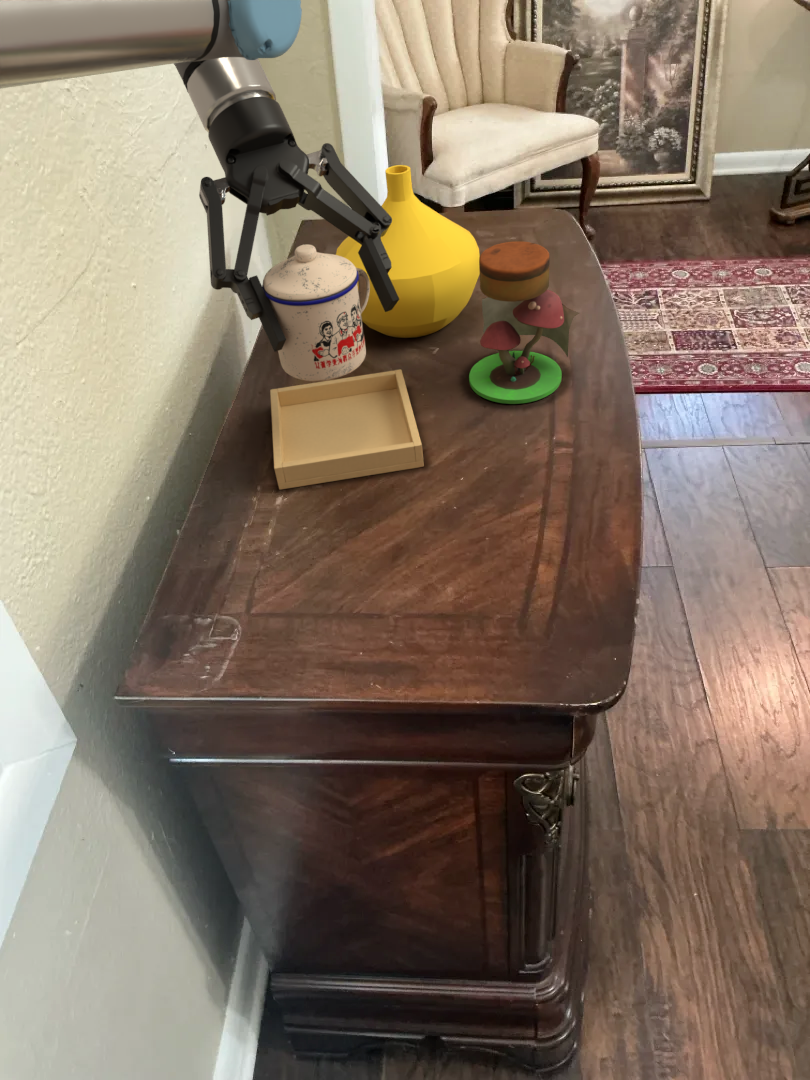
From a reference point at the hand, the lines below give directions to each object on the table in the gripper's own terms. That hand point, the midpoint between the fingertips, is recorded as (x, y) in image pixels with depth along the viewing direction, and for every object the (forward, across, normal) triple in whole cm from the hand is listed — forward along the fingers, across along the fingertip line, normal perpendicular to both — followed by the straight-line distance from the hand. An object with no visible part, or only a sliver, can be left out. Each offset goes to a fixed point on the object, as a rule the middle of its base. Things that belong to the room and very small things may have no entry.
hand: (337, 325), depth 83 cm
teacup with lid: (+1, 0, -5) cm, 5 cm away
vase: (-4, -19, -26) cm, 32 cm away
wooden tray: (+8, 0, -13) cm, 15 cm away
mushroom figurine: (+10, -22, -11) cm, 27 cm away
